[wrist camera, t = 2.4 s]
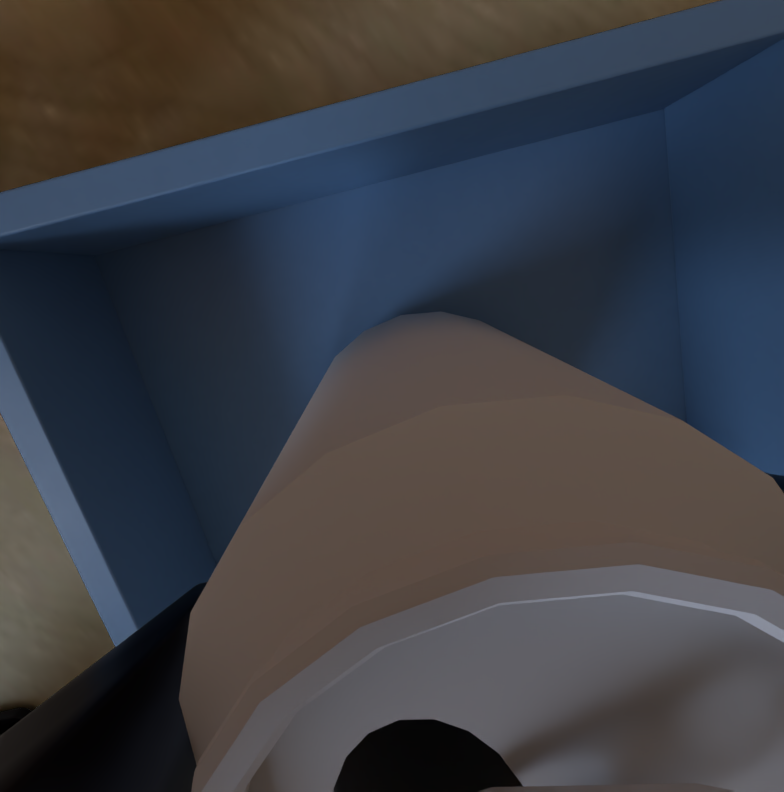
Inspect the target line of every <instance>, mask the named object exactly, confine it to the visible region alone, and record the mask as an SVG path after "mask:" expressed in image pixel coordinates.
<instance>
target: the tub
mask: <svg viewBox="0 0 784 792" xmlns="http://www.w3.org/2000/svg"><path fill="white" fill-rule="evenodd" d="M440 311H441V312H445V313H450V314H454V315H458V316H463V317H467V318H471V319H476V320H480V321H482V322H484V323H486V324H488V325H490V326H492V327H494V328H496V329H498V330H500V331H502V332H504V333H506V334H508V335H510V336H512V337H514V338H516V339H518V340H520V341H522V342H524V343H526V344H528V345H530V346H532V347H534V348H536V349H538V350H540V351H542V352H544V353H546V354H548V355H550V356H553V357H555V358H557V359H559V360H561V361H563V362H565V363H567V364H569V365H571V366H573V367H575V368H577V369H579V370H581V371H583V372H585V373H587V374H589V375H591V376H593V377H595V378H597V379H599V380H601V381H603V382H605V383H607V384H609V385H611V386H613V387H615V388H617V389H619V390H621V391H623V392H626V393H628V394H630V395H632V396H634V397H636V398H638V399H640V400H642V401H644V402H646V403H648V404H650V405H652V406H654V407H656V408H658V409H660V410H662V411H664V412H666V413H668V414H670V415H672V416H674V417H676V418H678V419H680V420H682V421H684V422H686V423H687V424H689V425H690V426H692V427H693V428H695V429H697V430H698V431H700V432H701V433H703V434H704V435H706V436H708V437H709V438H711V439H712V440H714V441H716V442H717V443H719V444H720V445H722V446H723V447H725V448H727V449H728V450H730V451H731V452H733V453H734V454H736V455H738V456H739V457H741V458H742V459H744V460H746V461H747V462H749V463H750V464H752V465H753V466H755V467H757V468H758V469H760V470H761V471H763V472H764V473H769V474H775V475H781V476H784V0H720V1H717V2H713V3H709V4H705V5H702V6H698V7H694V8H690V9H687V10H683V11H679V12H675V13H672V14H668V15H664V16H660V17H657V18H653V19H649V20H645V21H641V22H638V23H634V24H630V25H626V26H623V27H619V28H615V29H611V30H608V31H604V32H600V33H596V34H593V35H589V36H585V37H581V38H578V39H574V40H570V41H566V42H563V43H559V44H555V45H551V46H548V47H544V48H540V49H536V50H533V51H529V52H525V53H521V54H518V55H514V56H510V57H506V58H502V59H499V60H495V61H491V62H487V63H484V64H480V65H476V66H472V67H469V68H465V69H461V70H457V71H454V72H450V73H446V74H442V75H439V76H435V77H431V78H427V79H424V80H420V81H416V82H412V83H409V84H405V85H401V86H397V87H394V88H390V89H386V90H382V91H379V92H375V93H371V94H367V95H363V96H360V97H356V98H352V99H348V100H345V101H341V102H337V103H333V104H330V105H326V106H322V107H318V108H315V109H311V110H307V111H303V112H300V113H296V114H292V115H288V116H285V117H281V118H277V119H273V120H270V121H266V122H262V123H258V124H255V125H251V126H247V127H243V128H240V129H236V130H232V131H228V132H224V133H221V134H217V135H213V136H209V137H206V138H202V139H198V140H194V141H191V142H187V143H183V144H179V145H176V146H172V147H168V148H164V149H161V150H157V151H153V152H149V153H146V154H142V155H138V156H134V157H131V158H127V159H123V160H119V161H116V162H112V163H108V164H104V165H101V166H97V167H93V168H89V169H85V170H82V171H78V172H74V173H70V174H67V175H63V176H59V177H55V178H52V179H48V180H44V181H40V182H37V183H33V184H29V185H25V186H22V187H18V188H14V189H10V190H7V191H3V192H0V413H1V415H2V417H3V419H4V421H5V423H6V425H7V427H8V429H9V431H10V433H11V436H12V438H13V440H14V442H15V444H16V446H17V448H18V450H19V452H20V454H21V456H22V458H23V460H24V462H25V464H26V466H27V468H28V470H29V472H30V474H31V476H32V478H33V480H34V482H35V484H36V486H37V488H38V490H39V492H40V495H41V497H42V499H43V501H44V503H45V505H46V507H47V509H48V511H49V513H50V515H51V517H52V519H53V521H54V523H55V525H56V527H57V529H58V531H59V533H60V535H61V537H62V539H63V541H64V543H65V545H66V547H67V549H68V552H69V554H70V556H71V558H72V560H73V562H74V564H75V566H76V568H77V570H78V572H79V574H80V576H81V578H82V580H83V582H84V584H85V586H86V588H87V590H88V592H89V594H90V596H91V598H92V600H93V602H94V604H95V606H96V609H97V611H98V613H99V615H100V617H101V619H102V621H103V623H104V625H105V627H106V629H107V631H108V633H109V635H110V637H111V639H112V641H113V643H114V645H115V647H116V646H118V645H119V644H120V643H121V642H123V641H124V640H125V639H127V638H128V637H129V636H131V635H132V634H133V633H134V632H136V631H137V630H138V629H140V628H141V627H142V626H144V625H145V624H146V623H147V622H149V621H150V620H151V619H153V618H154V617H155V616H157V615H158V614H159V613H160V612H162V611H163V610H164V609H166V608H167V607H168V606H170V605H171V604H172V603H173V602H175V601H176V600H177V599H179V598H180V597H181V596H183V595H184V594H185V593H186V592H188V591H189V590H190V589H192V588H193V587H194V586H196V585H197V584H200V583H204V582H208V581H209V579H210V577H211V575H212V573H213V572H214V570H215V568H216V566H217V565H218V563H219V561H220V559H221V557H222V556H223V554H224V552H225V550H226V549H227V547H228V545H229V543H230V542H231V540H232V538H233V536H234V534H235V533H236V531H237V529H238V527H239V526H240V524H241V522H242V520H243V519H244V517H245V515H246V513H247V511H248V510H249V508H250V506H251V504H252V503H253V501H254V499H255V497H256V495H257V494H258V492H259V490H260V488H261V487H262V485H263V483H264V481H265V480H266V478H267V476H268V474H269V472H270V471H271V469H272V467H273V465H274V464H275V462H276V460H277V458H278V457H279V455H280V453H281V451H282V449H283V448H284V446H285V444H286V442H287V441H288V439H289V437H290V435H291V433H292V432H293V430H294V428H295V426H296V425H297V423H298V421H299V419H300V418H301V416H302V414H303V412H304V410H305V409H306V407H307V405H308V403H309V402H310V400H311V398H312V396H313V394H314V393H315V391H316V389H317V387H318V386H319V384H320V382H321V380H322V379H323V377H324V375H325V373H326V372H327V370H328V368H329V366H330V365H331V363H332V361H333V359H334V358H335V356H337V355H338V354H339V353H340V352H341V351H342V350H343V349H344V348H346V347H347V346H348V345H349V344H350V343H351V342H352V341H353V340H355V339H356V338H357V337H358V336H359V335H360V334H361V333H362V332H364V331H365V330H368V329H370V328H372V327H375V326H377V325H379V324H381V323H384V322H386V321H388V320H391V319H393V318H395V317H398V316H400V315H407V314H418V313H429V312H440Z"/></svg>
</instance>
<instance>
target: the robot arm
mask: <svg viewBox="0 0 784 792" xmlns="http://www.w3.org/2000/svg"><path fill="white" fill-rule="evenodd" d="M766 474H768V475H769V476H771V477H772V478H773V479H774V480H775V482H776V483H777V484H778V486H779V487H780V489H781V490H782V492H783V493H784V476H781V475H775V474H769V473H766ZM206 584H207V582H204V583H200V584H197V585H196V586H194V587H193V588H192V589H190V590H189V591H188V592H186V593H185V594H184V595H183V596H181V597H180V598H179V599H177V600H176V601H175V602H173V603H172V604H171V605H170V606H168V607H167V608H166V609H164V610H163V611H162V612H160V613H159V614H158V615H157V616H155V617H154V618H153V619H151V620H150V621H149V622H147V623H146V624H145V625H144V626H142V627H141V628H140V629H138V630H137V631H136V632H134V633H133V634H132V635H131V636H129V637H128V638H127V639H125V640H124V641H123V642H121V643H120V644H119V645H118V646H116V647H115V648H114V649H112V650H111V651H110V652H108V653H107V654H106V655H105V656H103V657H102V658H101V659H99V660H98V661H97V662H95V663H94V664H93V665H92V666H90V667H89V668H88V669H86V670H85V671H84V672H82V673H81V674H80V675H79V676H77V677H76V678H75V679H73V680H72V681H71V682H69V683H68V684H67V685H66V686H64V687H63V688H62V689H60V690H59V691H58V692H56V693H55V694H54V695H53V696H51V697H50V698H49V699H47V700H46V701H45V702H43V703H42V704H41V705H40V706H38V707H37V708H36V709H34V710H33V711H31V710H29V709H27V708H16V709H12V710H7V711H2V712H0V792H191V790H192V783H193V777H194V772H195V769H196V766H197V765H196V761H195V757H194V754H193V750H192V746H191V743H190V739H189V735H188V732H187V728H186V724H185V720H184V717H183V713H182V709H181V706H180V702H179V693H180V686H181V679H182V671H183V664H184V656H185V649H186V642H187V634H188V627H189V620H190V612H191V611H192V609H193V607H194V605H195V604H196V602H197V600H198V598H199V596H200V595H201V593H202V591H203V589H204V588H205V586H206Z"/></svg>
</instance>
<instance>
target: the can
mask: <svg viewBox="0 0 784 792" xmlns="http://www.w3.org/2000/svg"><path fill="white" fill-rule="evenodd" d="M179 702H180V706H181V709H182V713H183V717H184V720H185V724H186V728H187V732H188V735H189V739H190V743H191V746H192V750H193V754H194V757H195V761H196V765H197V766H196V769H195V772H194V777H193V783H192V790H191V792H784V493H783V492H782V490H781V489H780V487H779V486H778V484H777V483H776V482H775V480H774V479H773V478H772V477H771V476H769V475H768V474H766V473H764V472H763V471H761V470H760V469H758V468H757V467H755V466H753V465H752V464H750V463H749V462H747V461H746V460H744V459H742V458H741V457H739V456H738V455H736V454H734V453H733V452H731V451H730V450H728V449H727V448H725V447H723V446H722V445H720V444H719V443H717V442H716V441H714V440H712V439H711V438H709V437H708V436H706V435H704V434H703V433H701V432H700V431H698V430H697V429H695V428H693V427H692V426H690V425H689V424H687V423H686V422H684V421H682V420H680V419H678V418H676V417H674V416H672V415H670V414H668V413H666V412H664V411H662V410H660V409H658V408H656V407H654V406H652V405H650V404H648V403H646V402H644V401H642V400H640V399H638V398H636V397H634V396H632V395H630V394H628V393H626V392H623V391H621V390H619V389H617V388H615V387H613V386H611V385H609V384H607V383H605V382H603V381H601V380H599V379H597V378H595V377H593V376H591V375H589V374H587V373H585V372H583V371H581V370H579V369H577V368H575V367H573V366H571V365H569V364H567V363H565V362H563V361H561V360H559V359H557V358H555V357H553V356H550V355H548V354H546V353H544V352H542V351H540V350H538V349H536V348H534V347H532V346H530V345H528V344H526V343H524V342H522V341H520V340H518V339H516V338H514V337H512V336H510V335H508V334H506V333H504V332H502V331H500V330H498V329H496V328H494V327H492V326H490V325H488V324H486V323H484V322H482V321H480V320H476V319H471V318H467V317H463V316H458V315H454V314H450V313H445V312H441V311H440V312H429V313H418V314H407V315H400V316H398V317H395V318H393V319H391V320H388V321H386V322H384V323H381V324H379V325H377V326H375V327H372V328H370V329H368V330H365V331H364V332H362V333H361V334H360V335H359V336H358V337H357V338H356V339H355V340H353V341H352V342H351V343H350V344H349V345H348V346H347V347H346V348H344V349H343V350H342V351H341V352H340V353H339V354H338V355H337V356H335V358H334V359H333V361H332V363H331V365H330V366H329V368H328V370H327V372H326V373H325V375H324V377H323V379H322V380H321V382H320V384H319V386H318V387H317V389H316V391H315V393H314V394H313V396H312V398H311V400H310V402H309V403H308V405H307V407H306V409H305V410H304V412H303V414H302V416H301V418H300V419H299V421H298V423H297V425H296V426H295V428H294V430H293V432H292V433H291V435H290V437H289V439H288V441H287V442H286V444H285V446H284V448H283V449H282V451H281V453H280V455H279V457H278V458H277V460H276V462H275V464H274V465H273V467H272V469H271V471H270V472H269V474H268V476H267V478H266V480H265V481H264V483H263V485H262V487H261V488H260V490H259V492H258V494H257V495H256V497H255V499H254V501H253V503H252V504H251V506H250V508H249V510H248V511H247V513H246V515H245V517H244V519H243V520H242V522H241V524H240V526H239V527H238V529H237V531H236V533H235V534H234V536H233V538H232V540H231V542H230V543H229V545H228V547H227V549H226V550H225V552H224V554H223V556H222V557H221V559H220V561H219V563H218V565H217V566H216V568H215V570H214V572H213V573H212V575H211V577H210V579H209V581H208V582H207V584H206V586H205V588H204V589H203V591H202V593H201V595H200V596H199V598H198V600H197V602H196V604H195V605H194V607H193V609H192V611H191V612H190V620H189V627H188V634H187V642H186V649H185V656H184V664H183V671H182V679H181V686H180V693H179Z"/></svg>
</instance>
